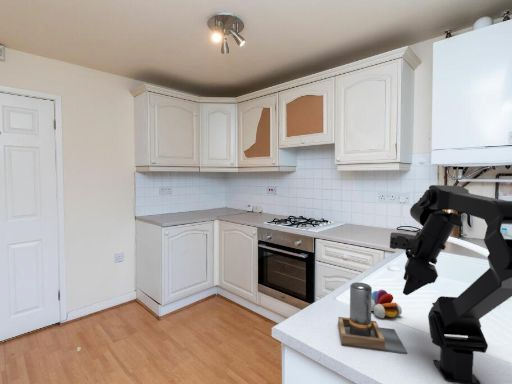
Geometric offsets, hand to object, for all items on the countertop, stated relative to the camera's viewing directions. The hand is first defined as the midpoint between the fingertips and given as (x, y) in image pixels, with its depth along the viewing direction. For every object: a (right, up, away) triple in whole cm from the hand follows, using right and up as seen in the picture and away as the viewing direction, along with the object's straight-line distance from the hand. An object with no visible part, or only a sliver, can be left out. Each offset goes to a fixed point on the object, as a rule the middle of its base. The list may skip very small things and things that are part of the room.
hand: (405, 286), depth 73 cm
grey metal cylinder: (-12, -13, 0) cm, 17 cm away
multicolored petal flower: (+1, -14, +15) cm, 20 cm away
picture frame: (-9, -14, 0) cm, 16 cm away
